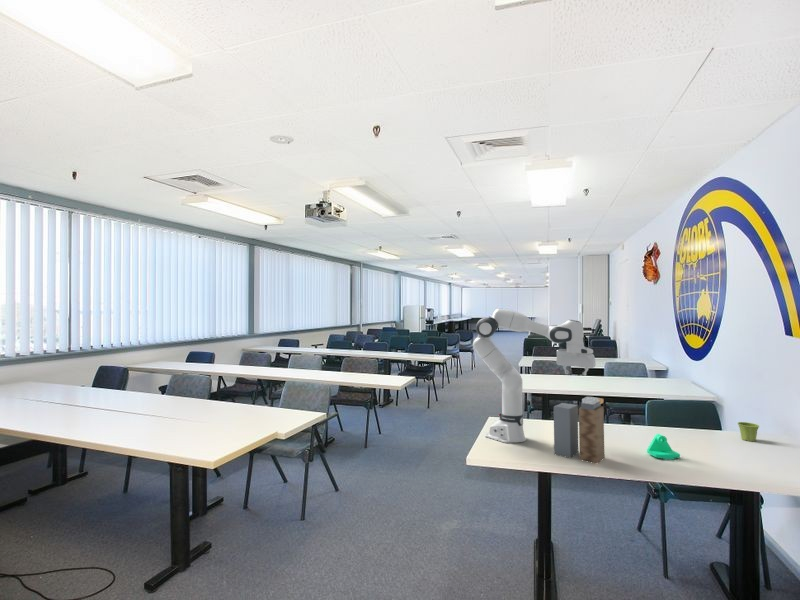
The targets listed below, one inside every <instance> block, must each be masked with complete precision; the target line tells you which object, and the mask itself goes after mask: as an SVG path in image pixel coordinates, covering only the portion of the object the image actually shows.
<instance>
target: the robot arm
mask: <svg viewBox="0 0 800 600" xmlns="http://www.w3.org/2000/svg"><path fill="white" fill-rule="evenodd" d="M583 325H584V324H583V323H582V322H581V321H579V320H574V319H568V320H567V321H565V322H563V323H561V324H558V325H557V324H553V325H547V324H544V323H540V322H537V321H534V320H532V319H530V318H529V317H528V316H527V315H525V314H523V313H521V312H518V311H515V310H513V309H512V310H511V309H506V308H495V310H494V311H493V313H492V314H491V317H482V318H480V319H479V320H478V321H477V323H476V325H475V326H476V327H475V331H476V333H477V337H476V338H475V339H474V340H473V342H472V347H473V349H474V350H475V352H476V354H477V356H479V358H480V359H481V360H482V361H483V363H484V364H485V365H486V366H487V368H488V369H489V370H490V371H491V372H492V373H493V374H494V375H495V376H496V377H497V379H499V381H500V382H501V410H502V411H501V413H499V414H498V416H497V417H499V419H497V420H495V421H494V422H493V423H492V424H491V425H490V426H489V431H488V432H486V433H485V434H484V435H485V436H484V437H485V438H488V439H491V440H495V441H497V440H498V441H497V442H500V443H501V442H502V443H505V444H506V443H509V444H510V443H523V442H526V440H527V439H526V436H525V431H524V414H523V378H522V375H521V374H520V372H519V371H518V370H517V368H516V367H515V366H514V365H513V364H512V363H511V362H510V360H508V359H507V358H506V356H505V355H504V354H503V352H502V351H501V350H500V349H499V348H498V347H497V345H495V343H494V342H493V341H492V336H493V335H494V334H495V333H496V331H497V330H498V329H499V328H500V329H501V328H503V329H505V330H509V331H513V332H518V333H523V332H526V333H527V332H530V333H534V334H537V335H540V336H543V337H545V338H547V339H548V340H549V341H550V342H552V343H555V344H563V343H566V348H559V349H557V350H556V359H555V360H556V361H555V362H556V365H557V366H561V367H562V368H563V370H564V373H565V375H569V372H570V370H568V369H567V367H574V368H576V367H578V368H584V371H582V376H584V377H586V376H587V372H588V371H589V369H590V368H591V369H594V368H595V367H596V366H597V364H596V358H595V354H594V349H592V348H590V347H587V346H585V343H584V337H585V334H584V333H585V332H584V326H583Z"/></svg>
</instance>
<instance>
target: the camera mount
mask: <svg viewBox="0 0 800 600" xmlns="http://www.w3.org/2000/svg"><path fill="white" fill-rule="evenodd" d="M646 453H647V454H649V455H651V456H653V457H654V458H658V459H662V458H663V459H662V460H664V459H673V460H674V459H675V458H680V457H681V453H679V452H677V451H675V450H673V449H672V447H671V446H670V444H669V443H668V439H667V437H666V436H664V435H663V434H660V433H656V434H655V435H654V437H653V438H652V440H651V442H650V443H649V445H648V448H647V449H646Z"/></svg>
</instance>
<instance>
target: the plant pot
mask: <svg viewBox="0 0 800 600" xmlns="http://www.w3.org/2000/svg"><path fill="white" fill-rule="evenodd" d="M737 426H738V427H739V431H740V438H741V439H742V441H748V442H756V441H757V436H758V430H759V428H760V425H759V424H758V423H757V424H756V423H753V422H745V421H739V422H737Z"/></svg>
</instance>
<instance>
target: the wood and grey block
mask: <svg viewBox="0 0 800 600" xmlns="http://www.w3.org/2000/svg"><path fill="white" fill-rule="evenodd" d="M602 404H604V398H602V397H601V398H600V397H594V396H585V397H584V398H582V399H581V403H580V407H581V409H588V410H595V409H597V408H599V407H600V406H601V405H602Z"/></svg>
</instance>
